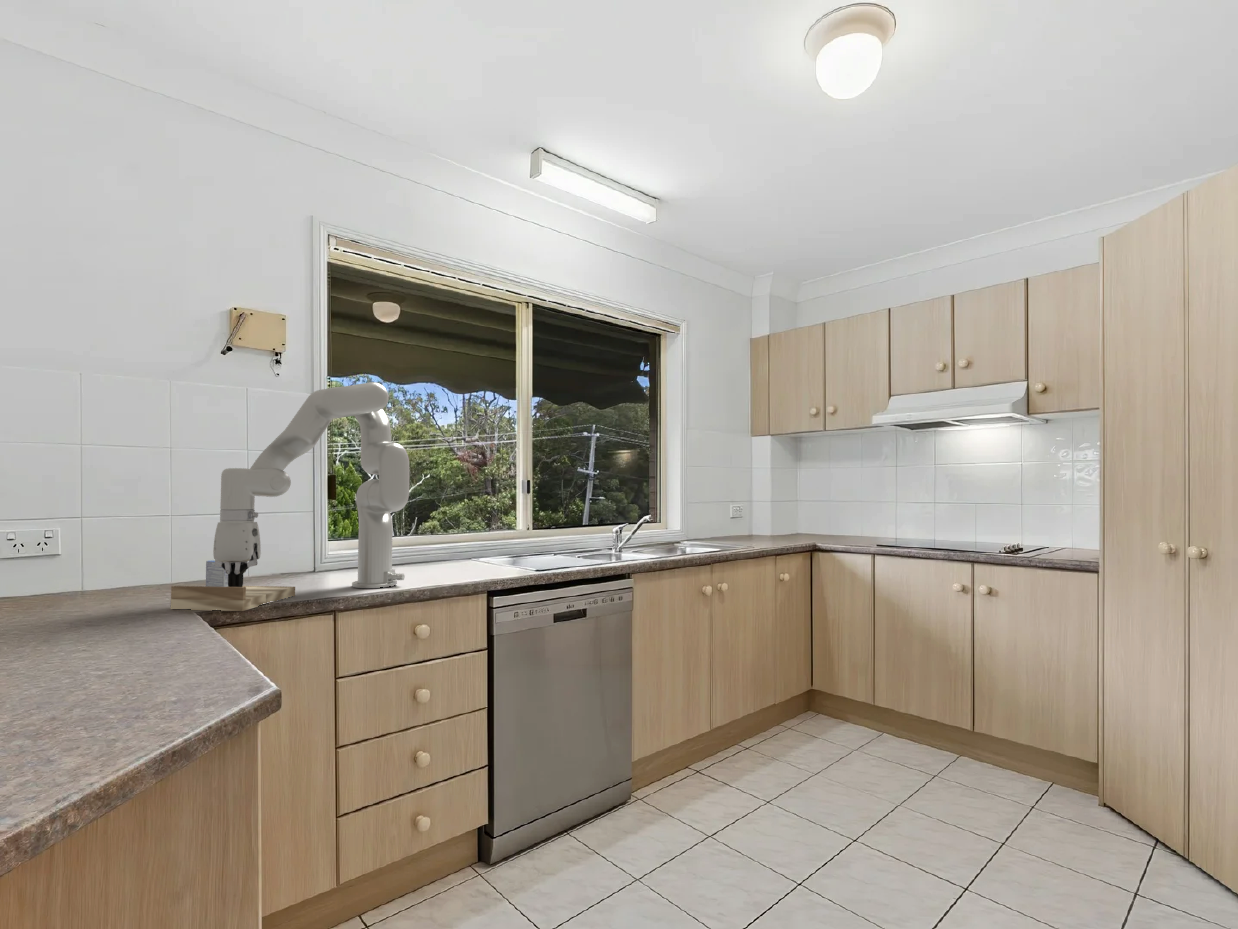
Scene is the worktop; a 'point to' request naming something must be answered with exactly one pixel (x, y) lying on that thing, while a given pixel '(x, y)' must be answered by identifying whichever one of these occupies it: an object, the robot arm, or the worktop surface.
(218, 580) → the medicine box
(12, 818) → the worktop surface
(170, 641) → the worktop surface
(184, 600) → the board
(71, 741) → the worktop surface
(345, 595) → the worktop surface
